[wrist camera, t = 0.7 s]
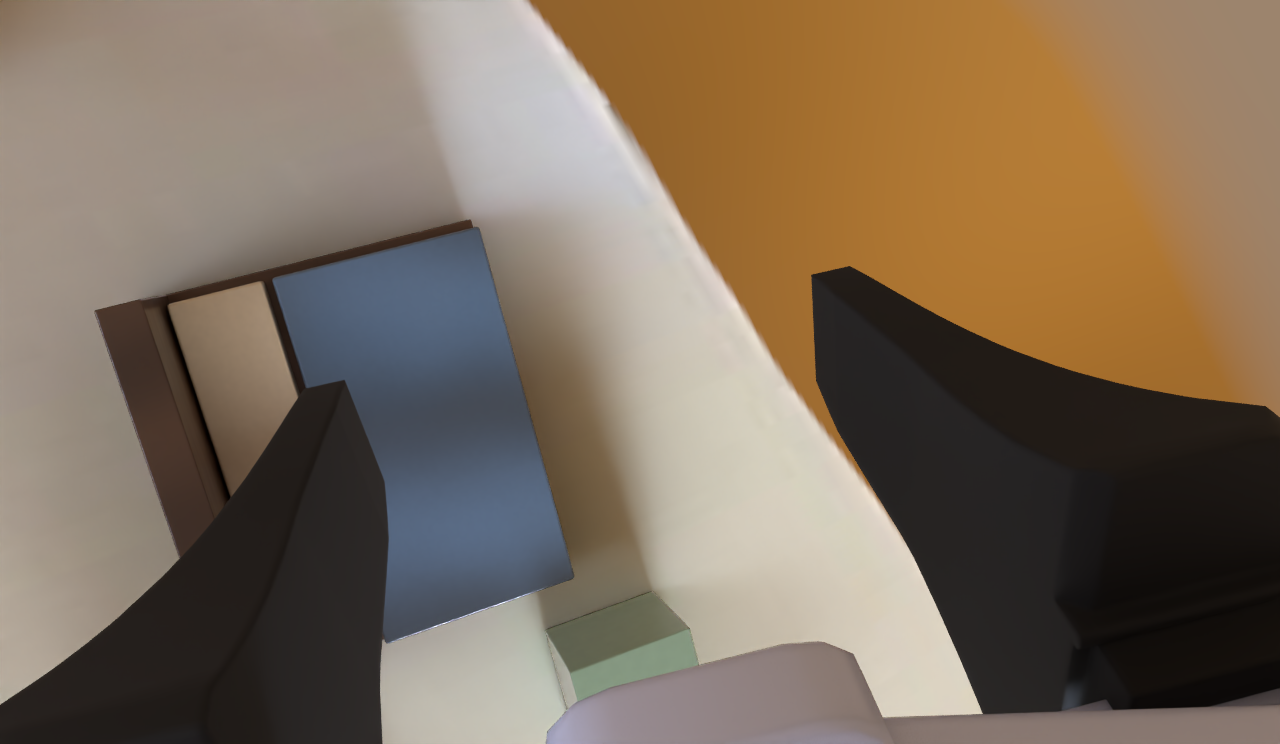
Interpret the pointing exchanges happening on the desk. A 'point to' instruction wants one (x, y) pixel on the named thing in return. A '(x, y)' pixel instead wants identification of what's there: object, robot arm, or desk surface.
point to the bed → (383, 396)
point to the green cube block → (619, 647)
